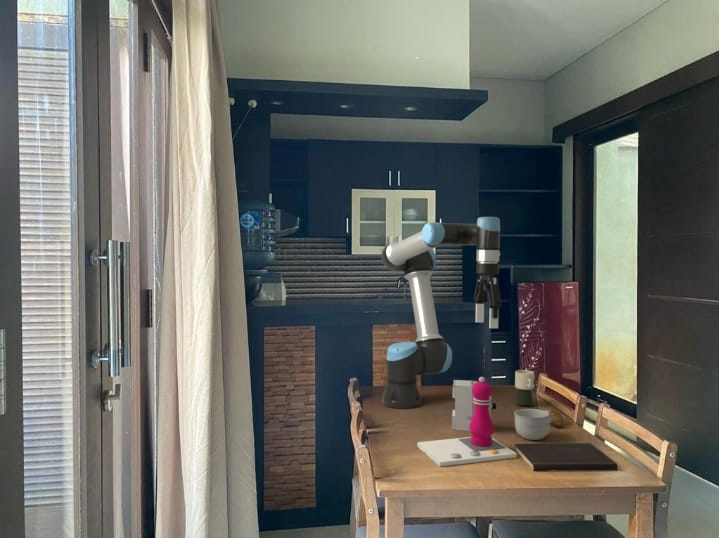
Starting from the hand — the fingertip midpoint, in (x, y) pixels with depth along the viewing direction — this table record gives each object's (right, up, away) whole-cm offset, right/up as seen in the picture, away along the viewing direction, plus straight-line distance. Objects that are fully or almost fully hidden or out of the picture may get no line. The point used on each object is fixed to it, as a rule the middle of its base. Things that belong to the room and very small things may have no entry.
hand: (486, 325), depth 181 cm
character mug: (+21, -34, +25) cm, 47 cm away
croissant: (+24, -35, +4) cm, 42 cm away
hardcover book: (+15, -36, -29) cm, 49 cm away
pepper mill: (-6, -33, -21) cm, 40 cm away
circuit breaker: (-5, -35, -2) cm, 35 cm away
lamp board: (-12, -35, -24) cm, 44 cm away
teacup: (+13, -35, -10) cm, 39 cm away
